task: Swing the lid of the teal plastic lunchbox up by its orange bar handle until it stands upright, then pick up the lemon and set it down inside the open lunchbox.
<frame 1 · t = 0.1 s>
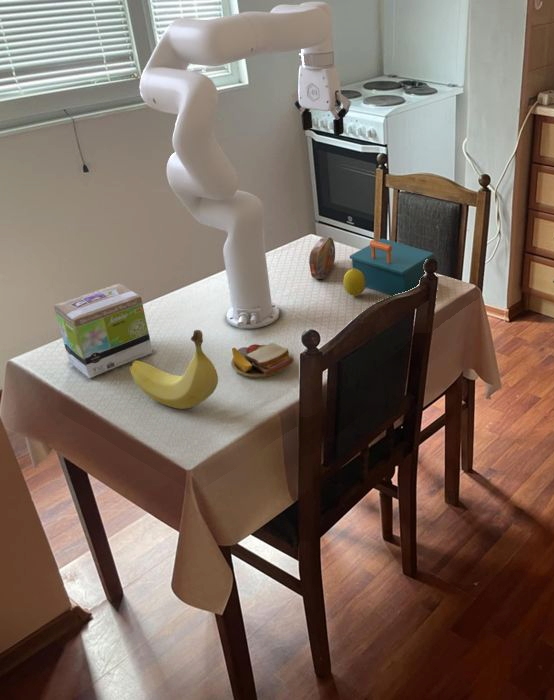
hand: (323, 131, 181), 37 cm above the table, tool pointing down, fingers open, 9 cm apart
lemon: (355, 297, 186), on the table
lunchbox: (393, 281, 193), on the table
toy sandwich meal: (263, 365, 158), on the table
tin: (323, 272, 198), on the table
banana: (178, 404, 146), on the table
lunchbox lid: (391, 247, 187), point 10 cm above the table, hinge at 0.0°
tea box: (112, 358, 161), on the table
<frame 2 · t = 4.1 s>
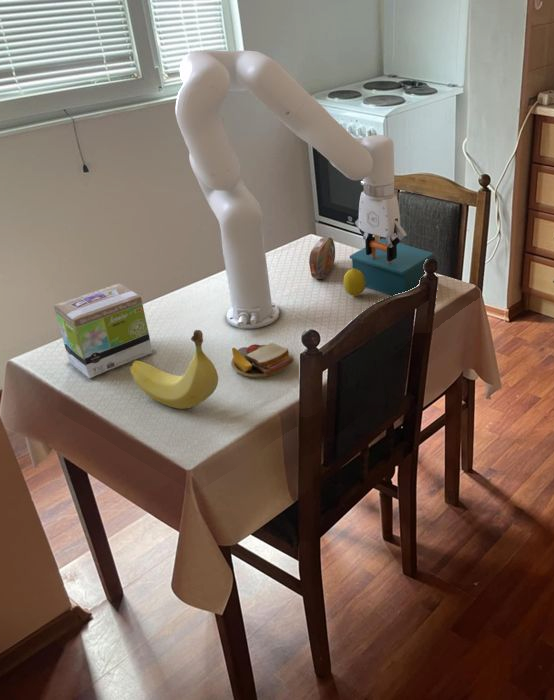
hand: (381, 255, 184), 9 cm above the table, tool pointing down, fingers closed on lunchbox lid, 6 cm apart
lunchbox lid: (391, 247, 187), point 10 cm above the table, hinge at 0.0°, touching gripper
everything else where it was.
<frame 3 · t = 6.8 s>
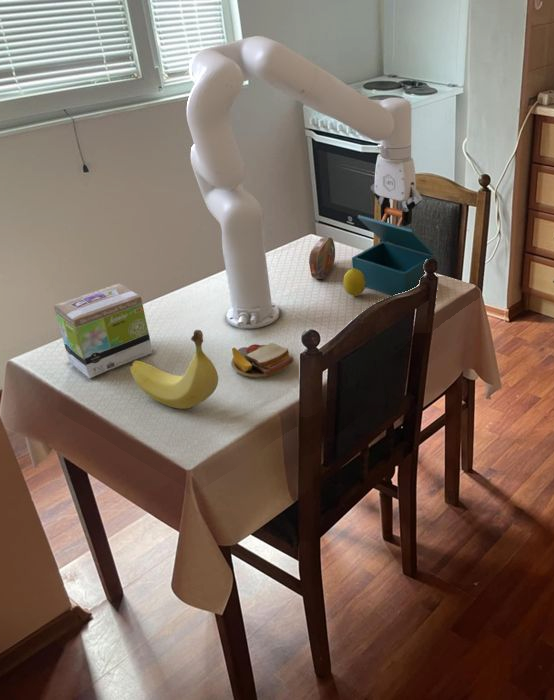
hand: (396, 221, 185), 17 cm above the table, tool pointing down, fingers closed on lunchbox lid, 6 cm apart
lunchbox lid: (400, 227, 187), point 14 cm above the table, hinge at 45.3°, touching gripper
everything else where it was.
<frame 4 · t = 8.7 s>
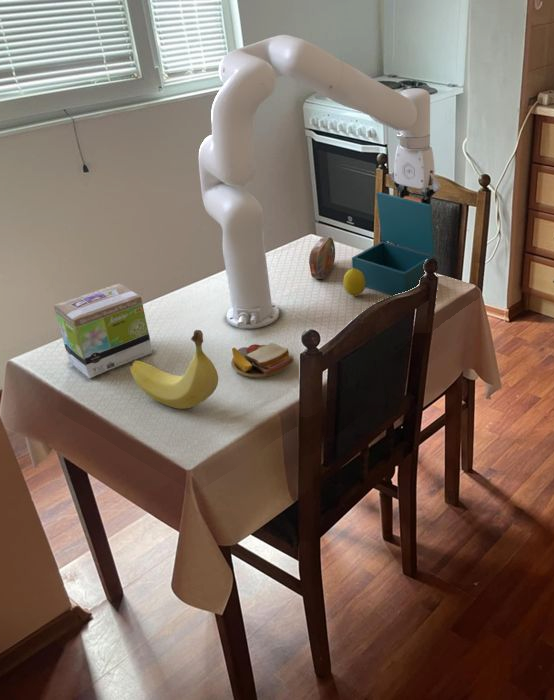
hand: (415, 208, 190), 17 cm above the table, tool pointing down, fingers closed on lunchbox lid, 6 cm apart
lunchbox lid: (410, 219, 190), point 15 cm above the table, hinge at 83.4°, touching gripper
everything else where it was.
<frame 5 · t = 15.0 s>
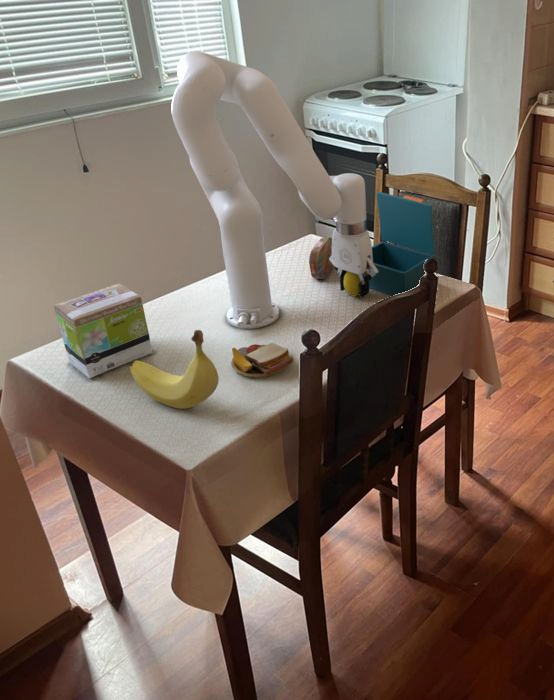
hand: (354, 291, 185), 2 cm above the table, tool pointing down, fingers closed on lemon, 5 cm apart
lemon: (355, 297, 186), on the table, touching gripper
lunchbox lid: (411, 219, 190), point 15 cm above the table, hinge at 83.8°
everything else where it was.
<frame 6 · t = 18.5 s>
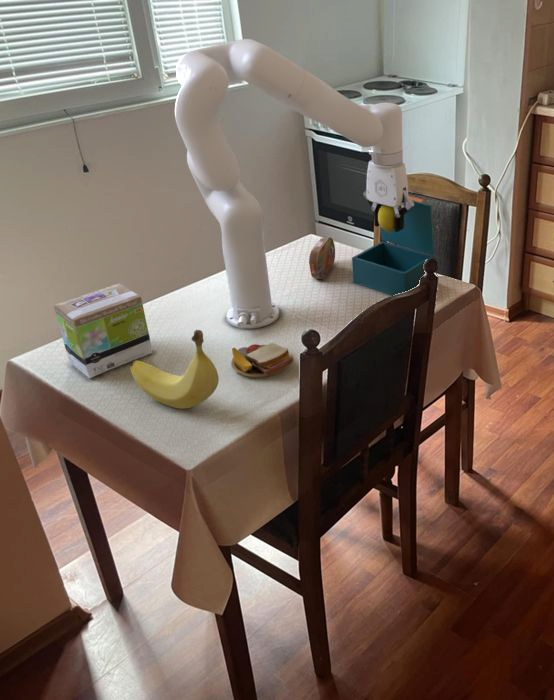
hand: (389, 226, 183), 16 cm above the table, tool pointing down, fingers closed on lemon, 5 cm apart
lemon: (389, 233, 184), point 14 cm above the table, touching gripper
everything else where it was.
when the fingers open (2 cm above the table, at t = 22.1 s): lemon stays where it is, resting on lunchbox.
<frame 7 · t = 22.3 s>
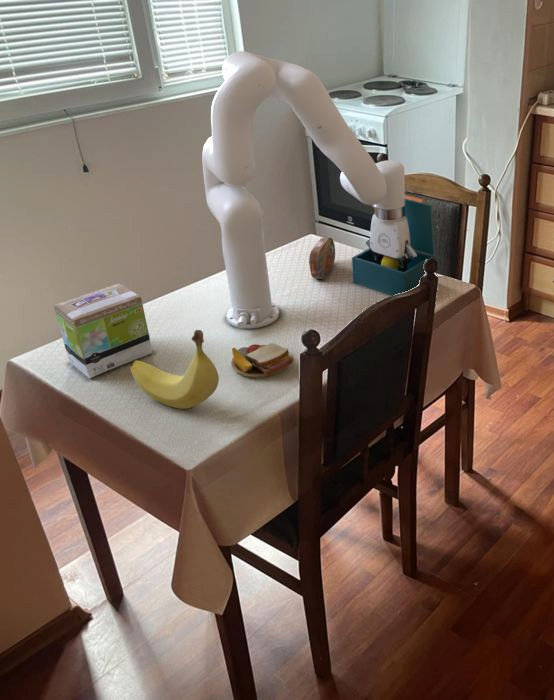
hand: (391, 275, 191), 2 cm above the table, tool pointing down, fingers open, 6 cm apart
lemon: (391, 280, 192), point 1 cm above the table, touching lunchbox
everything else where it was.
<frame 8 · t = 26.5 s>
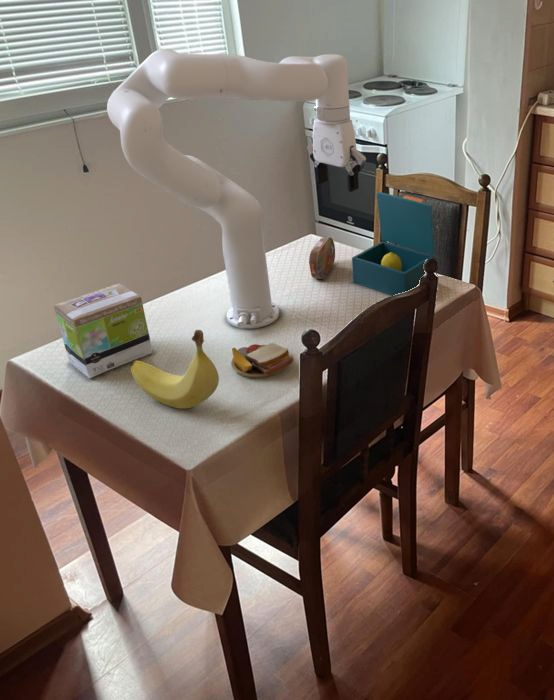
hand: (337, 186, 173), 28 cm above the table, tool pointing down, fingers open, 9 cm apart
nothing on the table moved.
at the end: lunchbox lid at +84° (first picture: +0°); lemon inside the target area in the lunchbox (0.8 cm from its centre), point 0.6 cm above the lunchbox's base; lemon touching lunchbox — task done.
